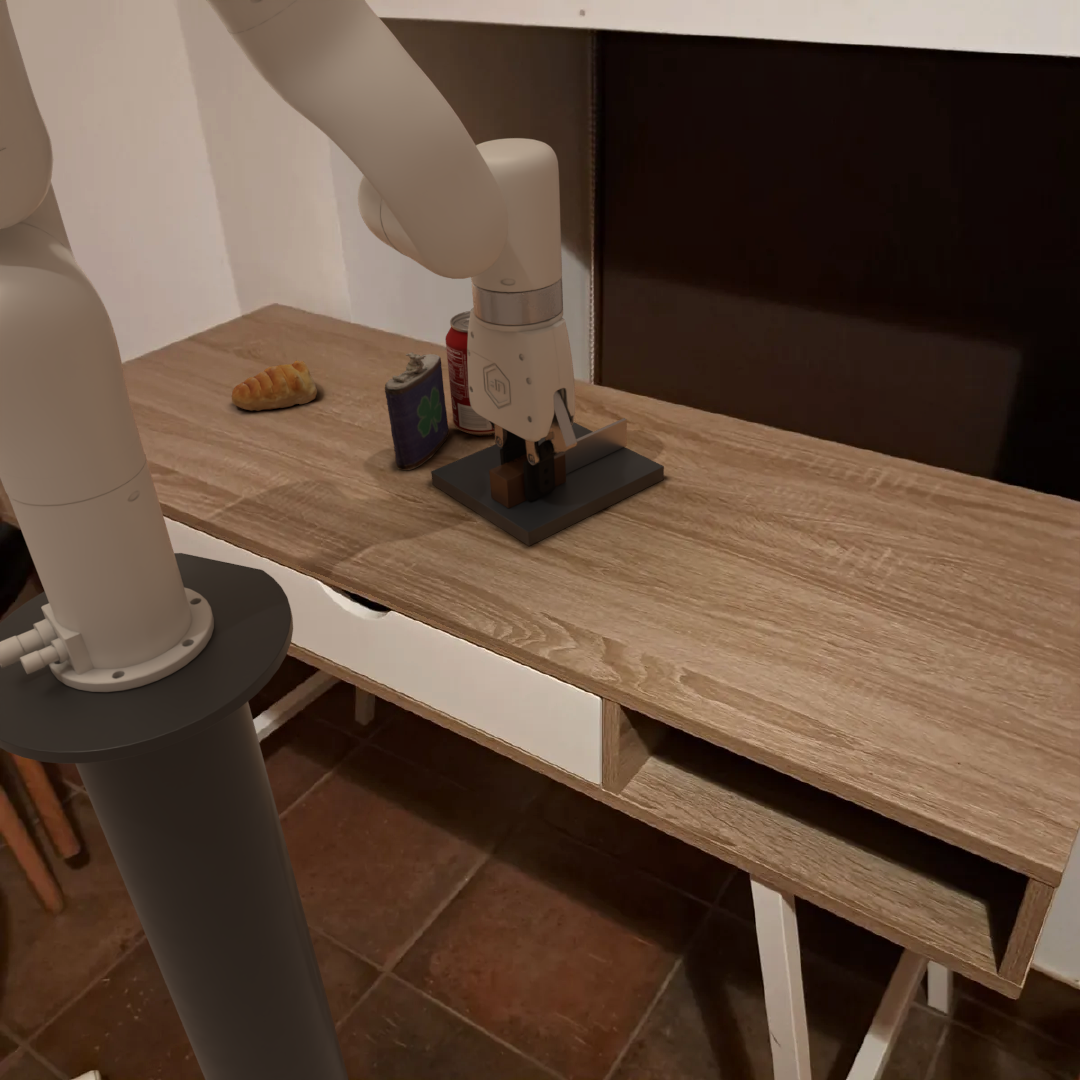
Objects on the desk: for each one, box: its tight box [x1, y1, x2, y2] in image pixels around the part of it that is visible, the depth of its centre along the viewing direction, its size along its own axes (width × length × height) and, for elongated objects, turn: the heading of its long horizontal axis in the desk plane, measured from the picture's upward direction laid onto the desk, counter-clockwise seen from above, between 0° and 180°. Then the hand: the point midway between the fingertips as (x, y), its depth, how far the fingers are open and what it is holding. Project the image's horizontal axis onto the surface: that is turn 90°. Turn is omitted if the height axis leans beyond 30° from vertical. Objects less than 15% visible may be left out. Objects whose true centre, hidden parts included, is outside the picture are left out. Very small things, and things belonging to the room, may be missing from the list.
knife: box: [489, 417, 628, 509], centre depth 96 cm, size 16×3×3 cm, turn 130°
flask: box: [384, 351, 450, 471], centre depth 102 cm, size 9×3×11 cm, turn 157°
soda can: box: [445, 310, 495, 437], centre depth 106 cm, size 7×7×12 cm
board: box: [430, 421, 665, 547], centre depth 98 cm, size 17×15×2 cm
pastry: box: [231, 359, 318, 412], centre depth 116 cm, size 9×7×4 cm
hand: (528, 486), depth 94 cm, fingers closed on knife, 2 cm apart
